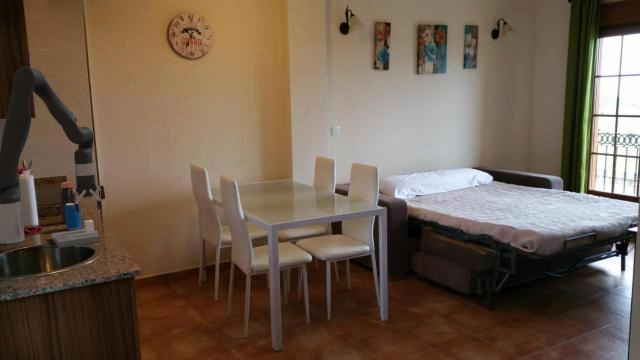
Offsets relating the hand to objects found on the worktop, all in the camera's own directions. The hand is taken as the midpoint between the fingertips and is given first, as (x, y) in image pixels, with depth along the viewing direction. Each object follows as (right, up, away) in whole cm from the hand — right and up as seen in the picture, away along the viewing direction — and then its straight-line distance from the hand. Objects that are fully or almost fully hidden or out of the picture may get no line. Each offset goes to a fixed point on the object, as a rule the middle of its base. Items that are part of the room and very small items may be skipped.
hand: (88, 210), depth 225 cm
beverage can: (-16, -10, +20) cm, 27 cm away
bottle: (-24, -8, +33) cm, 42 cm away
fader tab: (0, -9, +1) cm, 10 cm away
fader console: (-5, -13, -1) cm, 14 cm away
